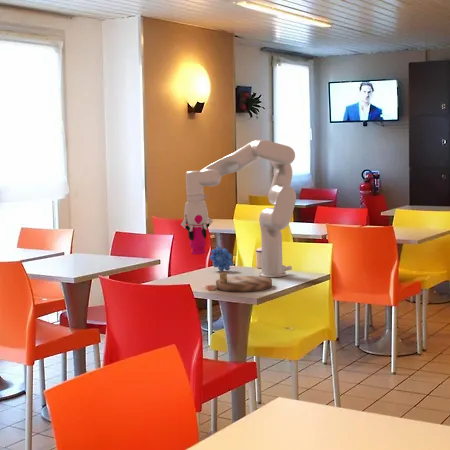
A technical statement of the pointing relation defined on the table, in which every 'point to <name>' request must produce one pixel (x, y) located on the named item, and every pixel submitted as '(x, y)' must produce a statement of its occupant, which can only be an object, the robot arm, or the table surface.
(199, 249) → the pepper mill
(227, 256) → the blue lumpy piece
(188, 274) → the table surface
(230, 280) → the disc
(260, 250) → the teacup with lid
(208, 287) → the block
